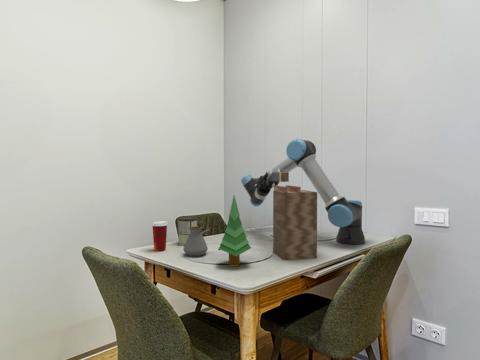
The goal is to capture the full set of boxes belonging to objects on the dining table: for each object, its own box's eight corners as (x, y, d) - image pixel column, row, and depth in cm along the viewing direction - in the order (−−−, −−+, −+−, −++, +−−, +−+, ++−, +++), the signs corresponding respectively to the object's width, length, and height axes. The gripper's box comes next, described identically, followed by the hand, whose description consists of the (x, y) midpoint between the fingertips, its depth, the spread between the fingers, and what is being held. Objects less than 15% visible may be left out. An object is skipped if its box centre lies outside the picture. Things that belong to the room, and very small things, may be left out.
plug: (272, 180, 186) (272, 171, 186) (288, 181, 165) (288, 172, 165) (265, 180, 185) (265, 172, 185) (281, 181, 164) (280, 172, 164)
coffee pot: (188, 259, 152) (188, 225, 151) (180, 253, 162) (179, 222, 161) (230, 253, 162) (230, 222, 161) (220, 248, 172) (220, 219, 172)
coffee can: (181, 241, 188) (181, 216, 188) (199, 241, 187) (199, 216, 187) (175, 245, 178) (175, 219, 178) (195, 246, 177) (194, 219, 176)
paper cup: (170, 249, 170) (170, 221, 170) (161, 252, 163) (161, 223, 163) (158, 247, 173) (158, 220, 173) (148, 251, 166) (148, 222, 166)
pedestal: (303, 250, 167) (303, 185, 166) (316, 257, 154) (317, 186, 152) (273, 252, 163) (273, 185, 162) (284, 260, 150) (284, 187, 148)
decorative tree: (209, 264, 143) (209, 193, 142) (239, 258, 153) (239, 192, 152) (228, 271, 133) (228, 196, 132) (258, 264, 142) (258, 194, 141)
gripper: (277, 196, 198) (291, 177, 178) (249, 197, 193) (260, 177, 173) (275, 184, 201) (288, 164, 181) (247, 185, 197) (258, 164, 177)
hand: (274, 171), depth 177 cm, fingers closed on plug, 4 cm apart
